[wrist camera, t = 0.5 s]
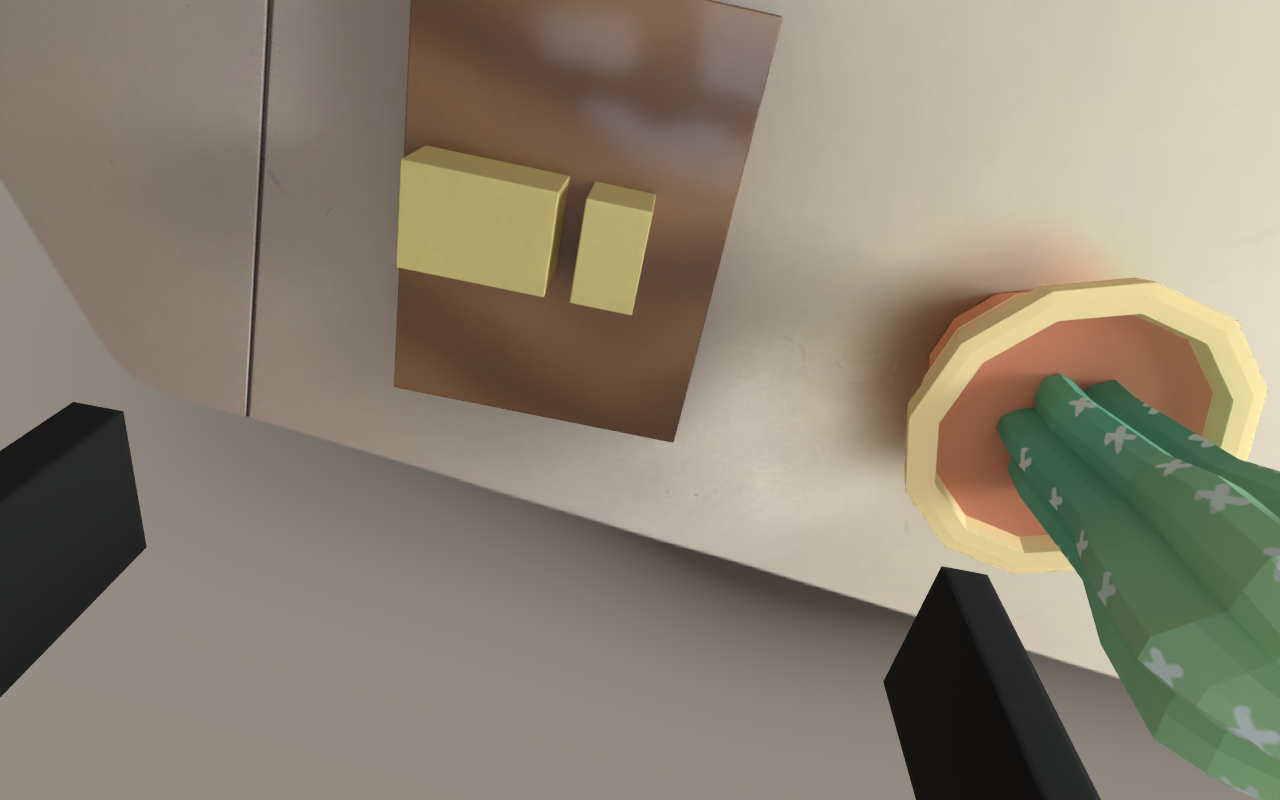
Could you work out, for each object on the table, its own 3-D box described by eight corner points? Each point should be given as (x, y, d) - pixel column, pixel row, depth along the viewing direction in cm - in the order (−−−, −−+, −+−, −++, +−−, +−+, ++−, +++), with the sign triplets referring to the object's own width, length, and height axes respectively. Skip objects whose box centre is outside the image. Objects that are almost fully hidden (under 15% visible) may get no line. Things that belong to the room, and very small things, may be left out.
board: (424, -64, 33) (413, -67, 32) (779, 15, 34) (783, 16, 32) (402, 375, 43) (393, 387, 42) (674, 429, 44) (673, 443, 43)
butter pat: (594, 180, 36) (585, 198, 33) (656, 193, 36) (652, 212, 33) (578, 278, 38) (569, 303, 35) (636, 290, 39) (631, 316, 35)
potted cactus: (1176, 440, 42) (1701, 917, 20) (901, 514, 46) (1096, 991, 24) (1151, 179, 36) (1881, 468, 14) (833, 289, 39) (1016, 659, 17)
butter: (425, 144, 36) (400, 158, 33) (570, 175, 36) (559, 192, 33) (419, 245, 38) (395, 267, 35) (555, 273, 38) (543, 298, 35)
